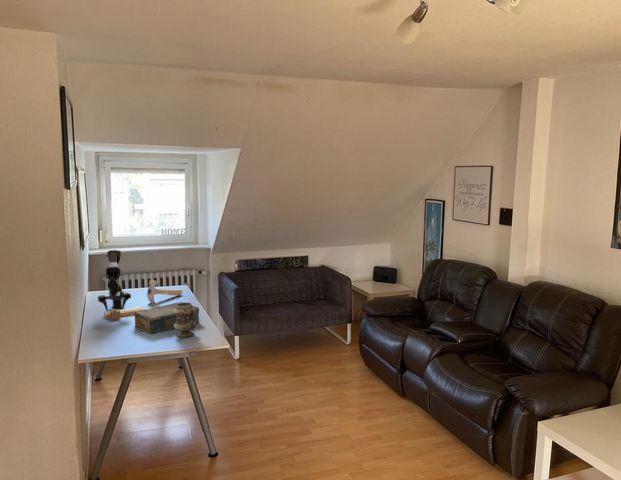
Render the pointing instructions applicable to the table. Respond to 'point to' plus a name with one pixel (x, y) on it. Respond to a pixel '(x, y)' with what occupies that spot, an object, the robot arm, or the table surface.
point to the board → (125, 312)
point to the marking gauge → (114, 314)
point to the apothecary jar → (184, 319)
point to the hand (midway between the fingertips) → (115, 310)
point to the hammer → (160, 291)
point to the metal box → (159, 318)
